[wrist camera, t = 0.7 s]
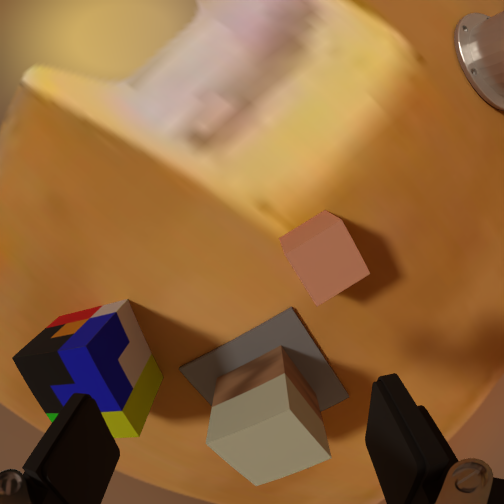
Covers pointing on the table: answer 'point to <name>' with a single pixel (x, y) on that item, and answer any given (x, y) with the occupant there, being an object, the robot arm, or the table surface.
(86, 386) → the puzzle toy
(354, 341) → the table surface
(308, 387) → the tower base
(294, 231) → the terracotta block
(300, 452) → the tower top
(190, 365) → the mat
